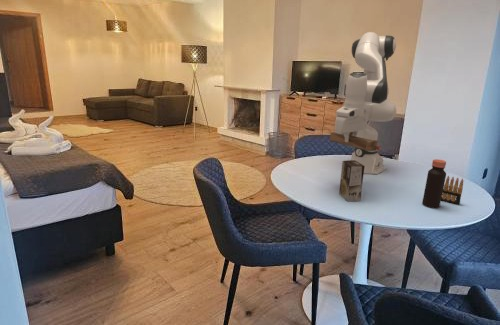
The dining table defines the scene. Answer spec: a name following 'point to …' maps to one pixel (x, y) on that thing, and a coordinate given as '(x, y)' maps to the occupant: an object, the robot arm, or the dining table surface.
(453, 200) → the ammunition clip
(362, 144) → the walnut pusher
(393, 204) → the dining table surface
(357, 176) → the coffee box
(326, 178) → the dining table surface
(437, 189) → the bottle
